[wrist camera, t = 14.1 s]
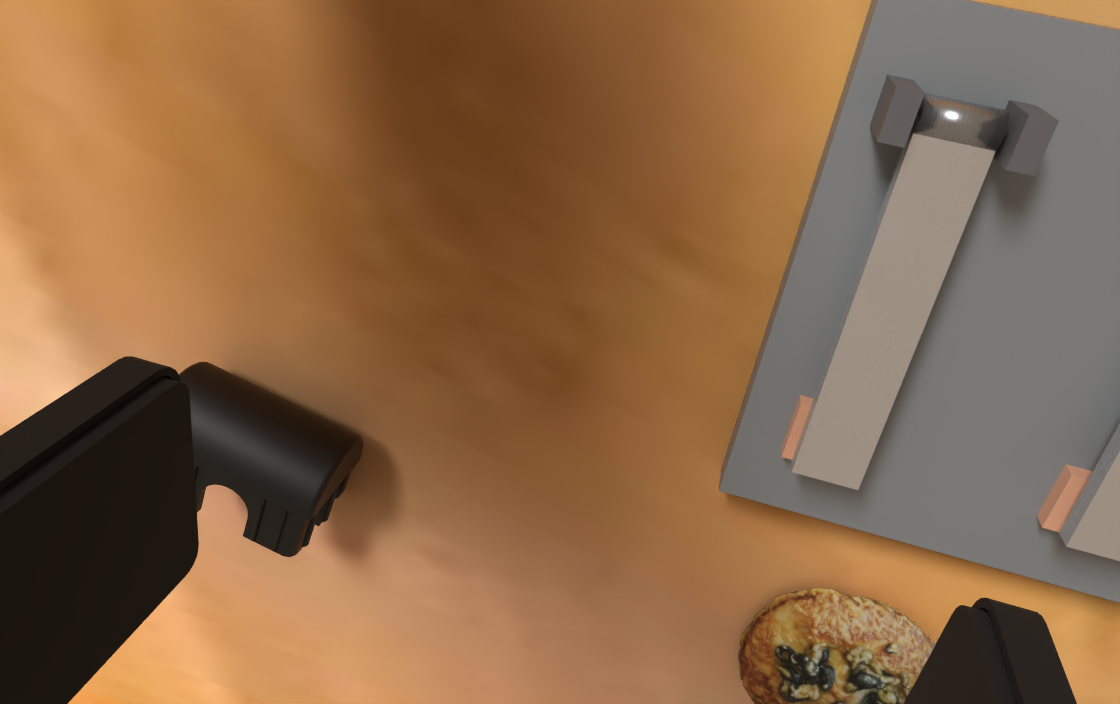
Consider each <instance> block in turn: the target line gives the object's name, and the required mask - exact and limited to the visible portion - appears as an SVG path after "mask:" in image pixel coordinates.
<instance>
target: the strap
mask: <svg viewBox="0 0 1120 704" xmlns="http://www.w3.org/2000/svg"><path fill="white" fill-rule="evenodd" d="M1009 117H1010V114H1009V111H1008V110H1004V109H999V108H994V107H989V106H985V105H980V104H975V103H970V102H966V101H961V100H956V99H951V98H947V97H942V96H937V95H932V94H928V93H925V94H924V96H923V99H922V102H921V105H920V107H919V110H918V113H917V115H916V118H915V121H914V124H913V126H912V129H911V132H910V134H909V137H908V140H907V143H906V145H905V148H902V151H901V154H900V157H899V159H898V162H897V165H896V168H895V171H894V174H893V176H892V179H891V182H890V185H889V188H888V190H887V193H886V196H885V199H884V202H883V204H882V207H881V210H880V213H879V216H878V218H877V221H876V224H875V227H874V230H873V232H872V235H871V238H870V241H869V244H868V247H867V249H866V252H865V255H864V258H863V261H862V263H861V266H860V269H859V272H858V275H857V277H856V280H855V283H854V286H853V289H852V291H851V294H850V297H849V300H848V303H847V306H846V308H845V311H844V314H843V317H842V320H841V322H840V325H839V328H838V331H837V334H836V336H835V339H834V342H833V345H832V348H831V350H830V353H829V356H828V359H827V362H826V364H825V367H824V370H823V373H822V376H821V379H820V381H819V384H818V387H817V390H816V393H815V395H814V398H813V401H812V404H811V407H810V409H809V412H808V415H807V418H806V421H805V423H804V426H803V429H802V432H801V435H800V438H799V440H798V443H797V446H796V449H795V452H794V454H793V457H792V460H791V468H792V472H793V473H797V474H801V475H804V476H808V477H812V478H815V479H819V480H823V481H826V482H830V483H834V484H837V485H841V486H844V487H848V488H852V489H855V490H859V487H860V485H861V482H862V480H863V477H864V475H865V472H866V470H867V467H868V465H869V463H870V460H871V458H872V455H873V453H874V450H875V448H876V445H877V443H878V440H879V438H880V435H881V433H882V430H883V428H884V426H885V423H886V421H887V418H888V416H889V413H890V411H891V408H892V406H893V403H894V401H895V398H896V396H897V393H898V391H899V389H900V386H901V384H902V381H903V379H904V376H905V374H906V371H907V369H908V366H909V364H910V361H911V359H912V356H913V354H914V352H915V349H916V347H917V344H918V342H919V339H920V337H921V334H922V332H923V329H924V327H925V324H926V322H927V319H928V317H929V315H930V312H931V310H932V307H933V305H934V302H935V300H936V297H937V295H938V292H939V290H940V287H941V285H942V282H943V280H944V278H945V275H946V273H947V270H948V268H949V265H950V263H951V260H952V258H953V255H954V253H955V250H956V248H957V246H958V243H959V241H960V238H961V236H962V233H963V231H964V228H965V226H966V223H967V221H968V218H969V216H970V213H971V211H972V209H973V206H974V204H975V201H976V199H977V196H978V194H979V191H980V189H981V186H982V184H983V181H984V179H985V176H986V174H987V172H988V169H989V167H990V164H991V162H992V159H993V157H994V154H995V152H996V150H997V149H998V148H999V146H1000V144H1001V142H1002V140H1003V138H1004V136H1005V133H1006V131H1007V127H1008V124H1009Z"/></svg>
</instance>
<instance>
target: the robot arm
mask: <svg viewBox="0 0 1120 704" xmlns="http://www.w3.org/2000/svg"><path fill="white" fill-rule="evenodd" d="M198 545H199V543H198V526H197V509H196V492H195V475H194V458H193V441H192V424H191V407H190V394H189V389H188V387H187V386H186V385H185V384H183V383H181V381H180V376H179V375H178V373H177V371H176V370H174V369H173V368H171V367H168V366H164V365H161V364H157V363H154V362H150V361H146V360H143V359H139V358H136V357H124V358H121V359H119V360H117V361H116V362H114V363H112V364H111V365H109V366H108V367H106V368H105V369H103V370H102V371H100V372H99V373H97V374H95V375H94V376H92V377H91V378H89V379H88V380H86V381H85V382H83V383H81V384H80V385H78V386H77V387H75V388H74V389H72V390H71V391H69V392H68V393H66V394H64V395H63V396H61V397H60V398H58V399H57V400H55V401H54V402H52V403H51V404H49V405H47V406H46V407H44V408H43V409H41V410H40V411H38V412H37V413H35V414H33V415H32V416H30V417H29V418H27V419H26V420H24V421H23V422H21V423H20V424H18V425H16V426H15V427H13V428H12V429H10V430H9V431H7V432H6V433H4V434H2V435H1V436H0V704H68V703H69V701H70V700H71V699H72V698H73V697H74V696H75V695H76V694H77V693H78V692H79V691H80V690H81V688H82V687H83V686H84V685H85V684H86V683H87V682H88V681H89V680H90V679H91V678H92V677H93V675H94V674H95V673H96V672H97V671H98V670H99V669H100V668H101V667H102V666H103V665H104V664H105V663H106V661H107V660H108V659H109V658H110V657H111V656H112V655H113V654H114V653H115V652H116V651H117V650H118V648H119V647H120V646H121V645H122V644H123V643H124V642H125V641H126V640H127V639H128V638H129V637H130V636H131V634H132V633H133V632H134V631H135V630H136V629H137V628H138V627H139V626H140V625H141V624H142V623H143V621H144V620H145V619H146V618H147V617H148V616H149V615H150V614H151V613H152V612H153V611H154V610H155V608H156V607H157V606H158V605H159V604H160V603H161V602H162V601H163V600H164V599H165V598H166V597H167V596H168V594H169V593H170V592H171V591H172V590H173V589H174V588H175V587H176V586H177V585H178V584H179V583H180V581H181V580H182V579H183V578H184V577H185V576H186V575H187V574H188V572H189V571H190V569H191V568H192V566H193V564H194V562H195V559H196V557H197V553H198ZM904 704H1077V703H1076V700H1075V698H1074V695H1073V692H1072V690H1071V687H1070V684H1069V682H1068V679H1067V677H1066V674H1065V671H1064V669H1063V666H1062V663H1061V661H1060V658H1059V656H1058V653H1057V650H1056V648H1055V645H1054V643H1053V640H1052V637H1051V635H1050V632H1049V629H1048V627H1047V624H1046V622H1045V620H1044V619H1043V617H1042V616H1041V615H1040V614H1039V613H1037V612H1034V611H1031V610H1027V609H1024V608H1020V607H1017V606H1013V605H1010V604H1006V603H1003V602H999V601H995V600H992V599H988V598H980V599H979V600H978V601H976V602H975V603H974V605H973V606H972V608H971V607H968V606H964V605H960V606H959V607H957V608H956V609H955V611H954V612H953V614H952V615H951V617H950V619H949V621H948V623H947V625H946V626H945V628H944V630H943V632H942V634H941V636H940V637H939V639H938V641H937V643H936V645H935V647H934V648H933V650H932V652H931V654H930V656H929V658H928V660H927V661H926V663H925V665H924V667H923V669H922V671H921V672H920V674H919V676H918V678H917V680H916V682H915V683H914V685H913V687H912V689H911V691H910V693H909V695H908V696H907V698H906V700H905V702H904Z"/></svg>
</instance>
